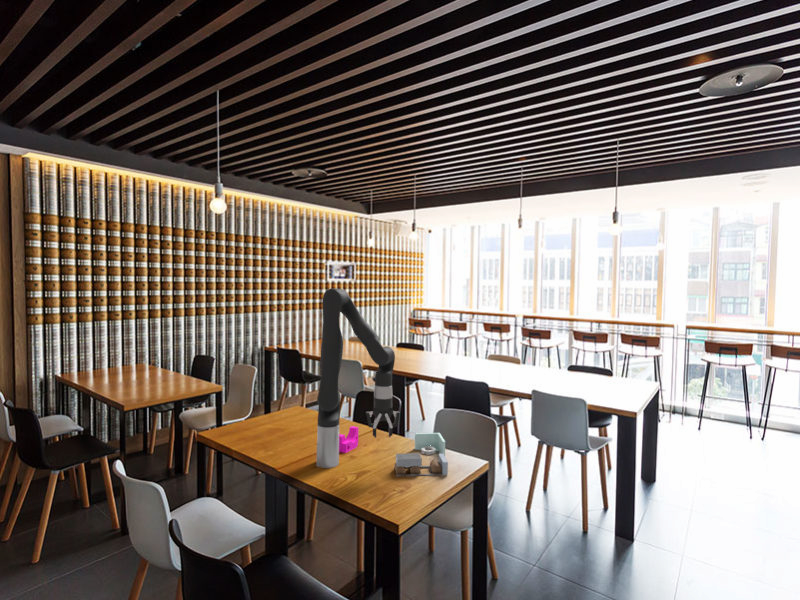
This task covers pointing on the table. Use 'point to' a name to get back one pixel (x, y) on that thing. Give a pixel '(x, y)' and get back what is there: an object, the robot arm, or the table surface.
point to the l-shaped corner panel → (429, 443)
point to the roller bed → (416, 471)
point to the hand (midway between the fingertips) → (382, 436)
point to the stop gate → (443, 464)
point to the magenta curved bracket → (348, 440)
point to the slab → (408, 460)
